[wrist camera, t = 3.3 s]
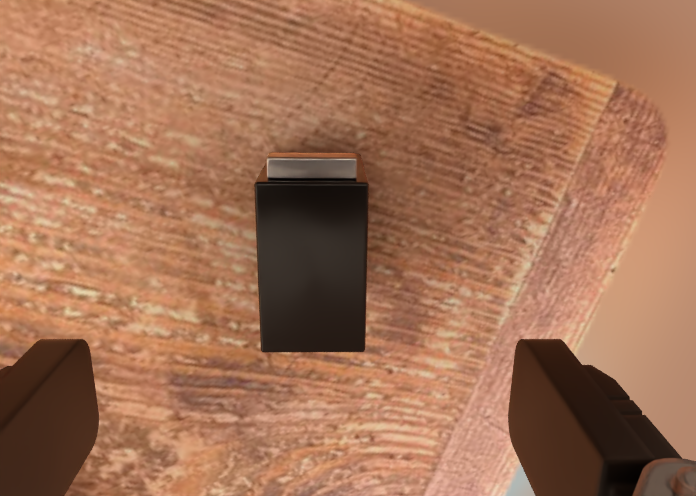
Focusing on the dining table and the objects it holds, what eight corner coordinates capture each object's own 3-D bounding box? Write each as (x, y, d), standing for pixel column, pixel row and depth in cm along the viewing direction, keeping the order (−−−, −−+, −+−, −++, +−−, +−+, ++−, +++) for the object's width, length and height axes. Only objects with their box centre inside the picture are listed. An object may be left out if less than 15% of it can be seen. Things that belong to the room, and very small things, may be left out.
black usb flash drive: (270, 134, 20) (253, 159, 15) (361, 135, 20) (369, 159, 16) (274, 292, 22) (260, 353, 17) (358, 292, 22) (365, 353, 17)
